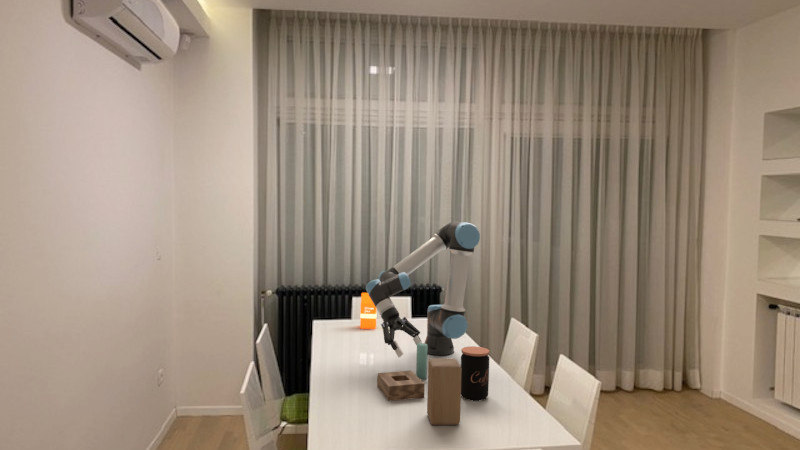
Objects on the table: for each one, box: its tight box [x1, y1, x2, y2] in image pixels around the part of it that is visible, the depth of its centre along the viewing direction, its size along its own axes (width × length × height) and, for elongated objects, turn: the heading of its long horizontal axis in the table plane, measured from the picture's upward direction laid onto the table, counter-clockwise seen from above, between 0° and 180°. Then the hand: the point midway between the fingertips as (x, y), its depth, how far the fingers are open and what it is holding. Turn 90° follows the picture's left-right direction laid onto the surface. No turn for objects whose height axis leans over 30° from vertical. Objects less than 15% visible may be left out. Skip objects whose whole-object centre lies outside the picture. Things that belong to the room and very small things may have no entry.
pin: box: [415, 342, 428, 380], centre depth 234 cm, size 4×4×14 cm
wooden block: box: [426, 358, 462, 426], centre depth 189 cm, size 10×10×20 cm
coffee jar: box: [460, 346, 490, 402], centre depth 213 cm, size 11×11×18 cm
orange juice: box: [359, 292, 378, 330], centre depth 323 cm, size 8×9×20 cm
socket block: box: [376, 370, 425, 402], centre depth 216 cm, size 14×16×6 cm
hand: (412, 352), depth 235 cm, fingers open, 13 cm apart
